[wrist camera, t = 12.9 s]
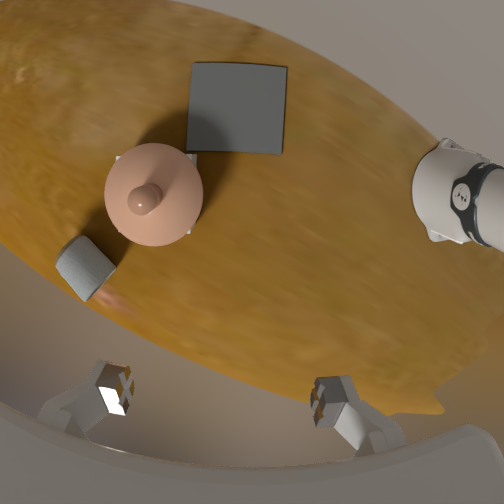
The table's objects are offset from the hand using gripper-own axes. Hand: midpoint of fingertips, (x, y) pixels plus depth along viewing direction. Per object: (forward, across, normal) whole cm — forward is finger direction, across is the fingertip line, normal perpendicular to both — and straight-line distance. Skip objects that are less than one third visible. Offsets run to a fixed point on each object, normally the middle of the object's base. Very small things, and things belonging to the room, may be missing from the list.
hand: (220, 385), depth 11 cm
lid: (+25, +11, -3) cm, 28 cm away
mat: (+31, +1, -16) cm, 35 cm away
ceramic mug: (+30, +24, +9) cm, 39 cm away
